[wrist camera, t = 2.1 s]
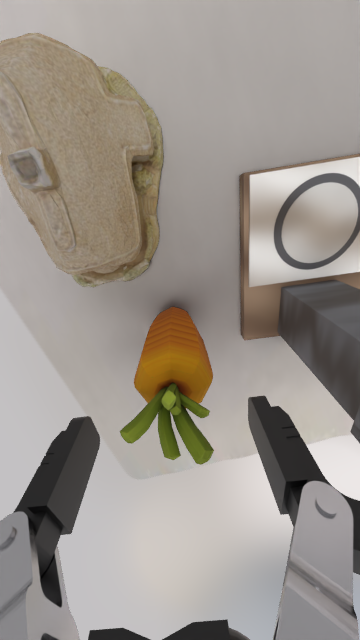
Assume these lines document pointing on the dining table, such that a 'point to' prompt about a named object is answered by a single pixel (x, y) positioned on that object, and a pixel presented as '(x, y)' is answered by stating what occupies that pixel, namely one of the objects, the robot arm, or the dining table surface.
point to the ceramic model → (80, 159)
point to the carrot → (173, 384)
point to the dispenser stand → (306, 268)
